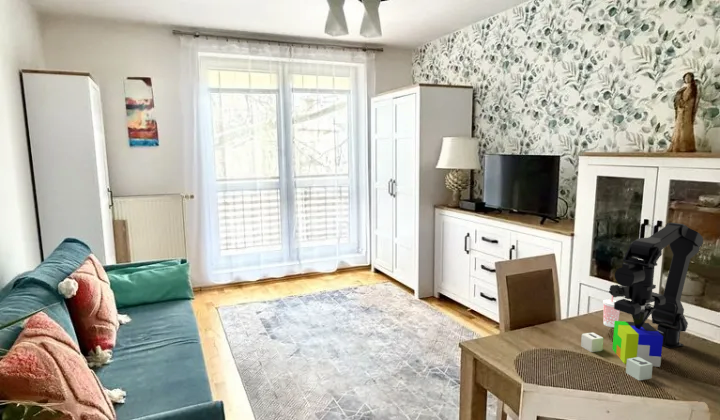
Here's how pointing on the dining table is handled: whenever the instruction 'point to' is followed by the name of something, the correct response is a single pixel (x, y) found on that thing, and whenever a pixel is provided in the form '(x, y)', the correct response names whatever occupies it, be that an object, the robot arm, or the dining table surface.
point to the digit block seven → (639, 368)
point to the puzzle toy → (637, 342)
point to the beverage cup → (610, 312)
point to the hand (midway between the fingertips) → (637, 328)
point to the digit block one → (592, 342)
